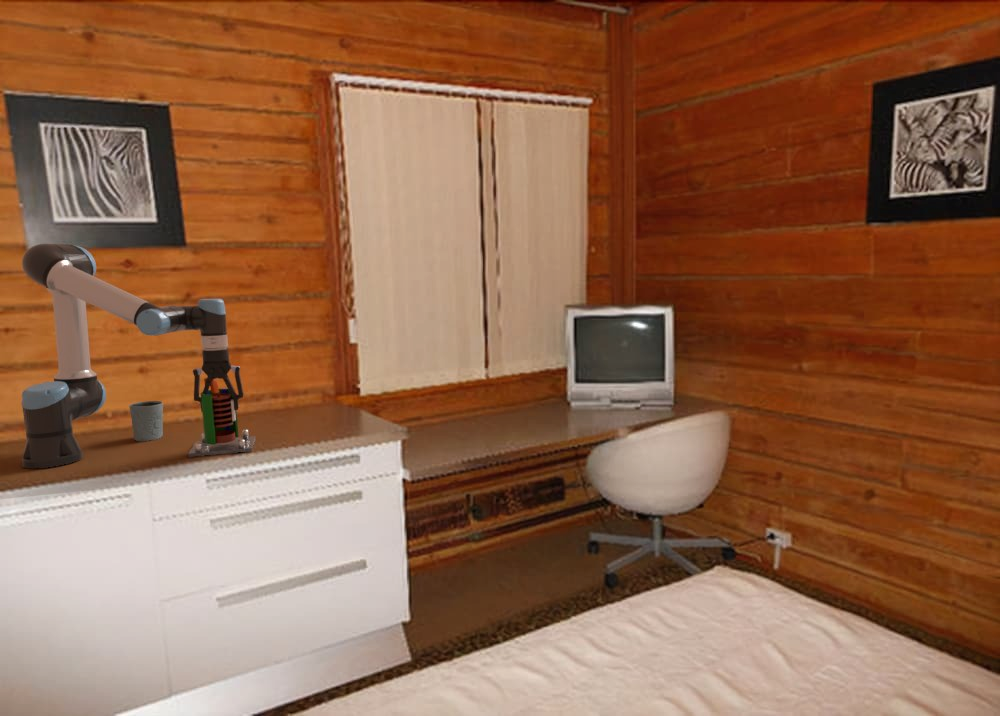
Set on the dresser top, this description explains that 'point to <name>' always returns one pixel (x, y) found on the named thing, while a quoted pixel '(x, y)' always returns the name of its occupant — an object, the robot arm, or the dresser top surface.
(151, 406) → the grey embossed cup
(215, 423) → the motor
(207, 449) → the mounting plate
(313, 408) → the dresser top surface
